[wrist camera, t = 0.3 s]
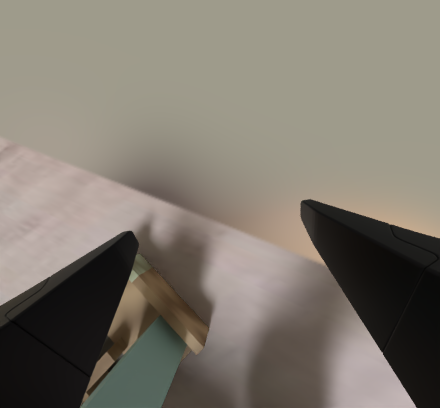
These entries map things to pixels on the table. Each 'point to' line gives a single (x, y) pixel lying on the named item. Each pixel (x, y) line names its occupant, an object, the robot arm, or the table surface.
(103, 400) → the block
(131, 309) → the trap channel
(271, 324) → the table surface
